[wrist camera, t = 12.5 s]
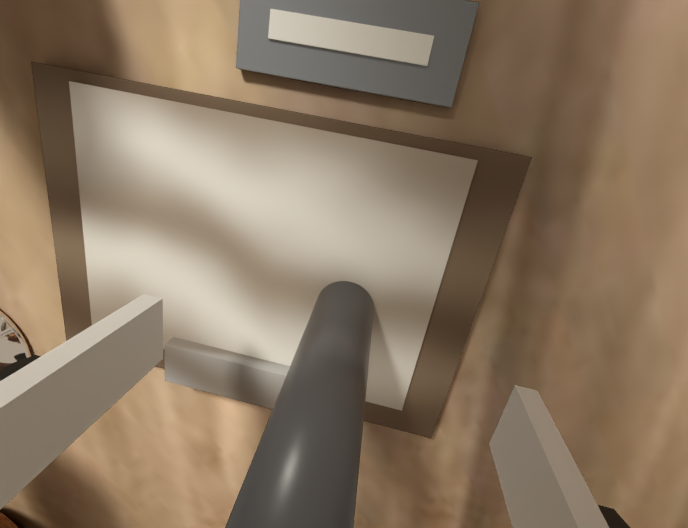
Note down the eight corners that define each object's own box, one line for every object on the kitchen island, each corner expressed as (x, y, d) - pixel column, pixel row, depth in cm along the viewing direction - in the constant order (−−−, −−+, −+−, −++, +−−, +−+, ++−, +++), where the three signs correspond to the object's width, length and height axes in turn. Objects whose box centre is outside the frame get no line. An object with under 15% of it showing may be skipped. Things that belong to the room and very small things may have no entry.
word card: (246, -30, 14) (240, -36, 13) (477, 6, 13) (479, 1, 13) (240, 69, 15) (235, 67, 15) (450, 108, 14) (451, 107, 14)
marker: (307, 284, 17) (110, 684, 5) (368, 274, 16) (306, 700, 5) (323, 336, 18) (191, 766, 6) (381, 329, 17) (358, 789, 6)
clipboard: (43, 64, 16) (8, 57, 15) (527, 156, 15) (540, 158, 13) (75, 337, 22) (51, 351, 20) (430, 429, 20) (432, 453, 18)
